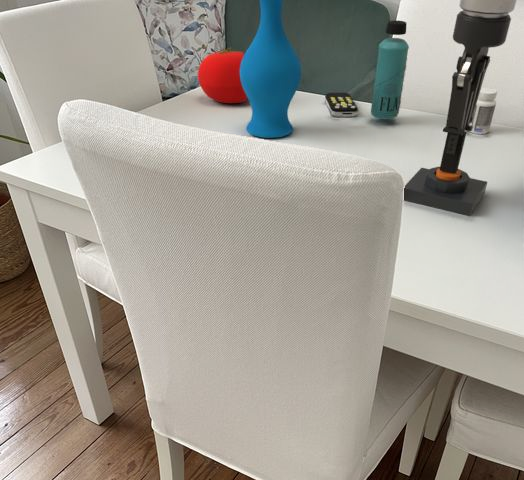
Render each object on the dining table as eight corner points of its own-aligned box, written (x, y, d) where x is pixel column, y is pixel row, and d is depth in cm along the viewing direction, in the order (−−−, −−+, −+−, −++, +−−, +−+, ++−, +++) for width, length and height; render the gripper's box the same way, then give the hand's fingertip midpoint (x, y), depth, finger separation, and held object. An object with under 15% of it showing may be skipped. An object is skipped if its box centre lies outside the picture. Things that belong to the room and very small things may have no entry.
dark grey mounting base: (484, 193, 101) (490, 171, 99) (469, 216, 95) (475, 193, 92) (419, 178, 106) (423, 157, 103) (400, 199, 99) (404, 177, 97)
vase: (301, 140, 120) (309, -16, 101) (241, 142, 119) (238, -16, 101) (295, 121, 129) (301, -26, 111) (239, 122, 128) (236, -26, 110)
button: (460, 181, 99) (463, 170, 98) (454, 190, 97) (457, 178, 95) (438, 176, 101) (440, 165, 99) (431, 184, 98) (433, 173, 97)
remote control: (348, 99, 141) (349, 91, 139) (358, 117, 131) (359, 108, 130) (323, 100, 140) (324, 91, 139) (331, 117, 131) (332, 108, 130)
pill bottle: (492, 130, 125) (503, 90, 120) (482, 136, 123) (492, 95, 117) (472, 125, 128) (482, 85, 122) (462, 130, 125) (471, 90, 120)
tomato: (233, 113, 133) (231, 59, 125) (190, 101, 139) (186, 49, 132) (266, 100, 140) (266, 49, 133) (224, 89, 147) (222, 39, 139)
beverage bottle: (374, 126, 126) (387, 25, 113) (365, 116, 131) (377, 18, 118) (402, 125, 127) (418, 24, 114) (392, 115, 132) (407, 17, 119)
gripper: (470, 2, 87) (438, 153, 103) (446, 17, 79) (414, 179, 94) (521, 7, 85) (480, 161, 100) (501, 23, 76) (459, 189, 91)
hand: (448, 170), depth 97 cm, fingers closed
